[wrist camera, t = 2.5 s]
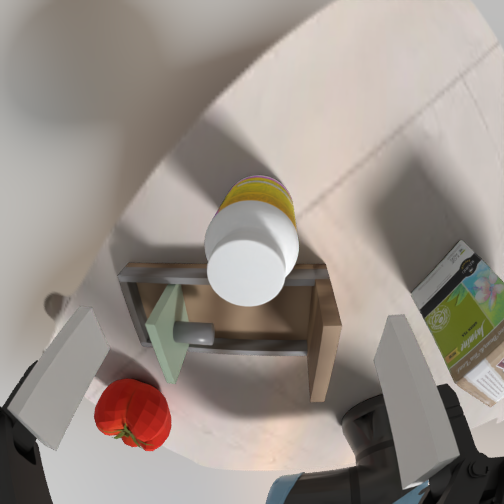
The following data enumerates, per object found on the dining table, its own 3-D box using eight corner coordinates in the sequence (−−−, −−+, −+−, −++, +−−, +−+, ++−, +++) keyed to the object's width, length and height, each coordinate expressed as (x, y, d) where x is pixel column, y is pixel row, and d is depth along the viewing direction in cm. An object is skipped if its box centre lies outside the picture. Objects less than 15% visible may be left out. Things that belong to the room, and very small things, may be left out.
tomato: (105, 385, 47) (83, 430, 36) (123, 355, 41) (94, 410, 31) (162, 417, 50) (147, 463, 39) (191, 393, 44) (175, 451, 33)
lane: (325, 264, 30) (341, 325, 21) (317, 338, 35) (324, 401, 26) (128, 262, 32) (87, 312, 24) (149, 331, 37) (122, 384, 29)
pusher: (214, 279, 31) (196, 328, 24) (222, 338, 35) (210, 388, 28) (171, 278, 31) (145, 323, 24) (184, 335, 35) (167, 382, 28)
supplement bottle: (226, 172, 27) (186, 217, 15) (295, 175, 26) (309, 224, 15) (226, 235, 30) (194, 314, 18) (290, 239, 29) (295, 322, 18)
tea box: (406, 294, 31) (453, 386, 18) (460, 236, 27) (533, 309, 14) (454, 338, 34) (490, 411, 21) (498, 293, 30) (547, 358, 17)
